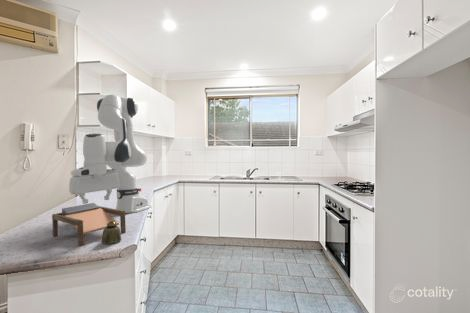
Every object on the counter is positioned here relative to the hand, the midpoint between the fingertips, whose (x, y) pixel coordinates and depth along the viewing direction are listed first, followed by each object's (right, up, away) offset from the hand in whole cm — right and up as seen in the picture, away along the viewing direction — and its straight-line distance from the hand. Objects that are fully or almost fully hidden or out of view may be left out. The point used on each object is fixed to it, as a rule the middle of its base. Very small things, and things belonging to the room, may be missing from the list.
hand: (96, 201), depth 110 cm
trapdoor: (-5, -9, +4) cm, 11 cm away
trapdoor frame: (-5, -16, +4) cm, 17 cm away
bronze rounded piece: (+10, -7, -6) cm, 14 cm away
